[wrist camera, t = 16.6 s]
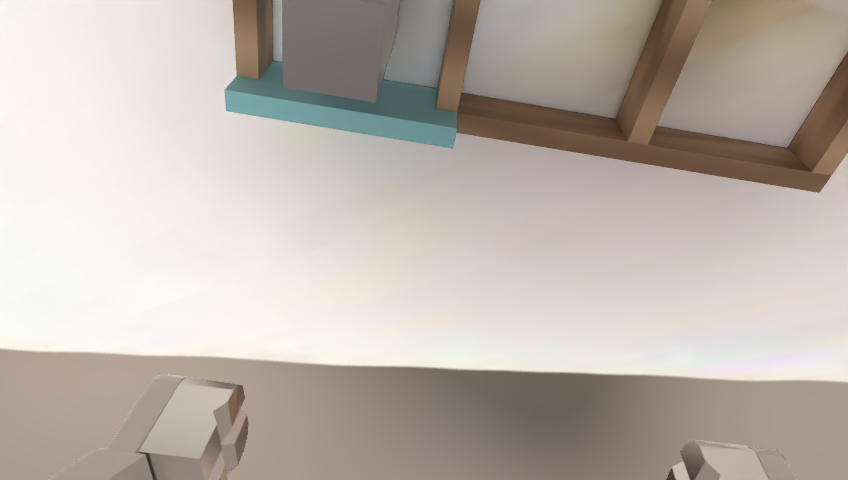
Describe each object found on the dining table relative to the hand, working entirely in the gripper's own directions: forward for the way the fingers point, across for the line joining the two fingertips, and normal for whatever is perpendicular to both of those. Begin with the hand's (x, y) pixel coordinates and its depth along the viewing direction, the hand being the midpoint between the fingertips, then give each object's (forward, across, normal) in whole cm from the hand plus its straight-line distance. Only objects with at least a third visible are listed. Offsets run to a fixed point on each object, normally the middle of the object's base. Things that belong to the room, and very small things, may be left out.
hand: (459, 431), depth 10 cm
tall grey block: (+26, +6, -3) cm, 27 cm away
